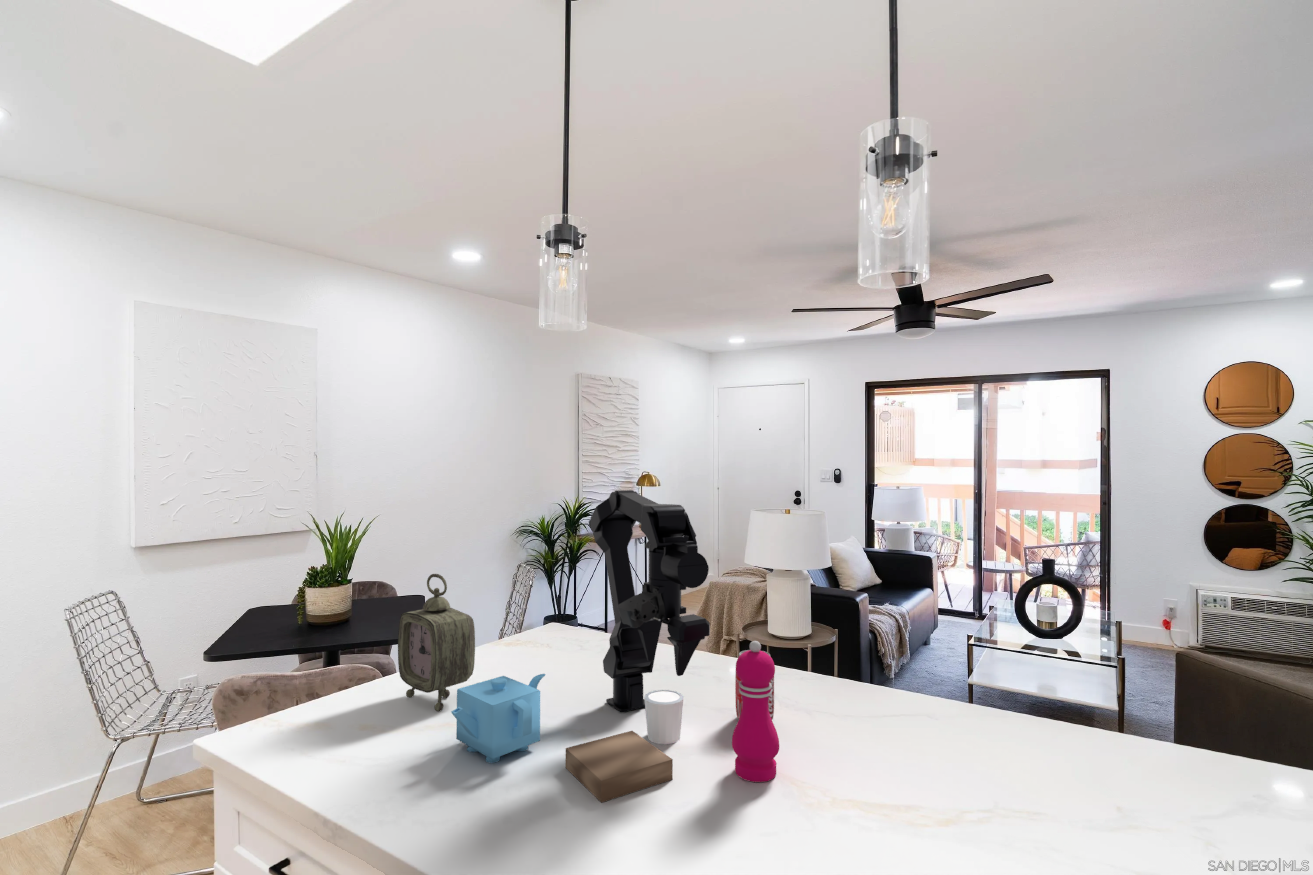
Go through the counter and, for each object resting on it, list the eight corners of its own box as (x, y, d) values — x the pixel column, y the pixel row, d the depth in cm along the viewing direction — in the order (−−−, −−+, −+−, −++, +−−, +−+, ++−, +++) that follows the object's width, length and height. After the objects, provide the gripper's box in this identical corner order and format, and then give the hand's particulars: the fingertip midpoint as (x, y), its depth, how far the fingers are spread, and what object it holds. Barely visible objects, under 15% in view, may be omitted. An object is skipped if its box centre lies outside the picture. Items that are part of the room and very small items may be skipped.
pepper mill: (782, 765, 101) (782, 636, 101) (775, 787, 94) (775, 649, 95) (737, 758, 103) (737, 632, 104) (727, 779, 96) (727, 645, 97)
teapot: (427, 750, 106) (428, 681, 106) (519, 718, 119) (519, 656, 119) (480, 784, 95) (481, 706, 95) (574, 744, 108) (575, 676, 108)
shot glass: (642, 729, 114) (643, 689, 114) (681, 727, 115) (681, 688, 115) (645, 746, 107) (645, 704, 108) (686, 745, 108) (686, 702, 108)
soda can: (772, 713, 121) (772, 649, 122) (775, 728, 114) (775, 660, 115) (735, 711, 122) (734, 648, 122) (736, 727, 115) (735, 659, 115)
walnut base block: (565, 767, 100) (565, 747, 100) (632, 748, 106) (632, 730, 106) (601, 802, 90) (601, 780, 90) (672, 779, 96) (672, 759, 96)
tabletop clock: (397, 697, 129) (398, 572, 130) (438, 685, 136) (439, 566, 136) (435, 717, 119) (437, 581, 120) (477, 702, 126) (479, 575, 127)
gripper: (598, 573, 115) (598, 661, 115) (655, 592, 100) (654, 693, 99) (651, 567, 121) (650, 650, 121) (711, 584, 106) (711, 680, 105)
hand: (664, 667), depth 111 cm, fingers open, 9 cm apart
